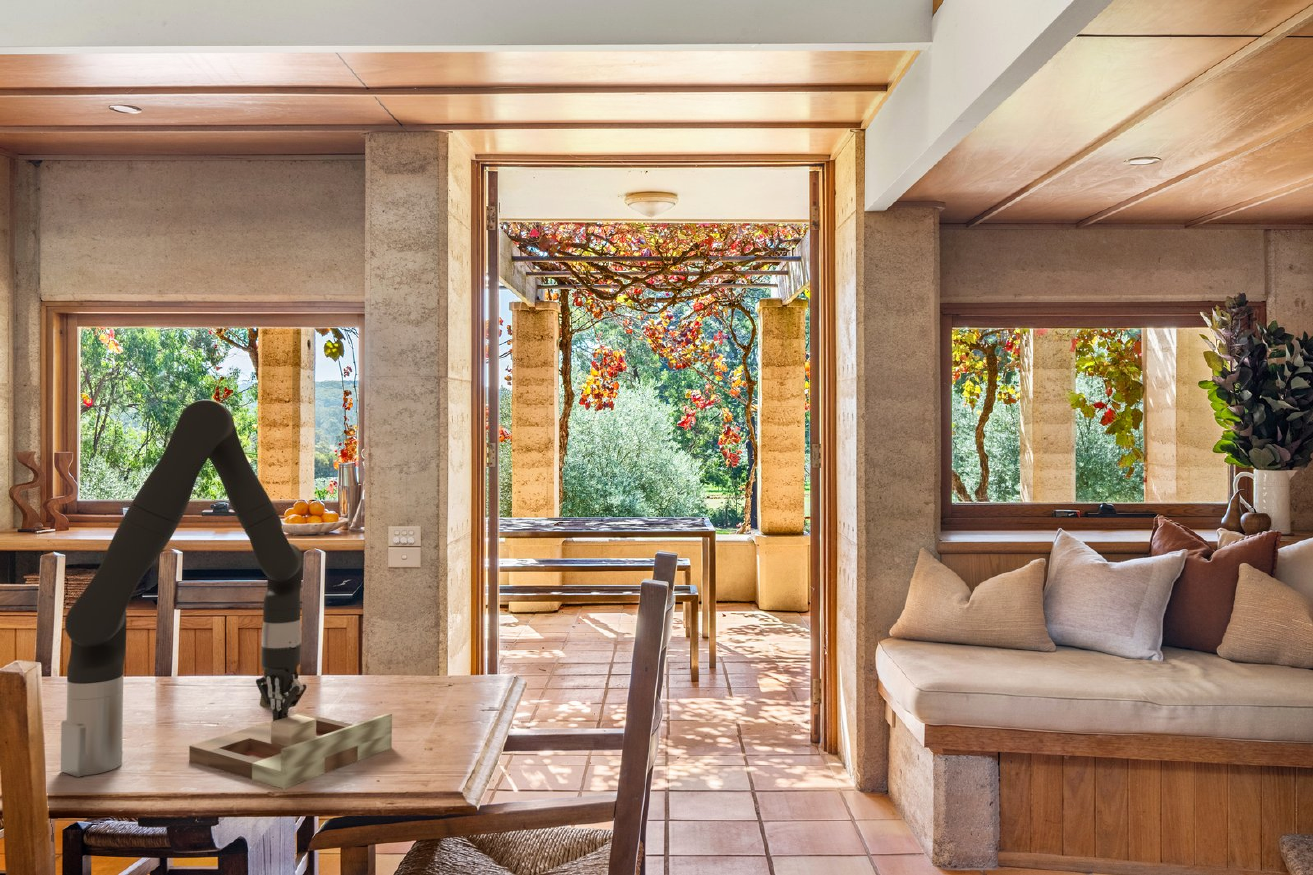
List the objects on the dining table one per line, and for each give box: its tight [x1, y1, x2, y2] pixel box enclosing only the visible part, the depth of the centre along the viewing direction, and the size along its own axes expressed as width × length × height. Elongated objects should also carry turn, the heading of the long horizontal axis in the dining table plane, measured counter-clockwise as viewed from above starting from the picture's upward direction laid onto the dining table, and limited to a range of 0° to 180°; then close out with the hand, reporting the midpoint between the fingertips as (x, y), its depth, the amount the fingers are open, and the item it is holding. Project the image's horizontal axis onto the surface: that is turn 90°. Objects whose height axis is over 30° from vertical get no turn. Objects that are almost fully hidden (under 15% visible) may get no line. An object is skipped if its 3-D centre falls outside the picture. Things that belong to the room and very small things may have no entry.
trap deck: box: [188, 712, 393, 790], centre depth 182 cm, size 26×28×7 cm
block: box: [271, 713, 316, 747], centre depth 182 cm, size 6×6×4 cm
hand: (280, 727), depth 185 cm, fingers closed
